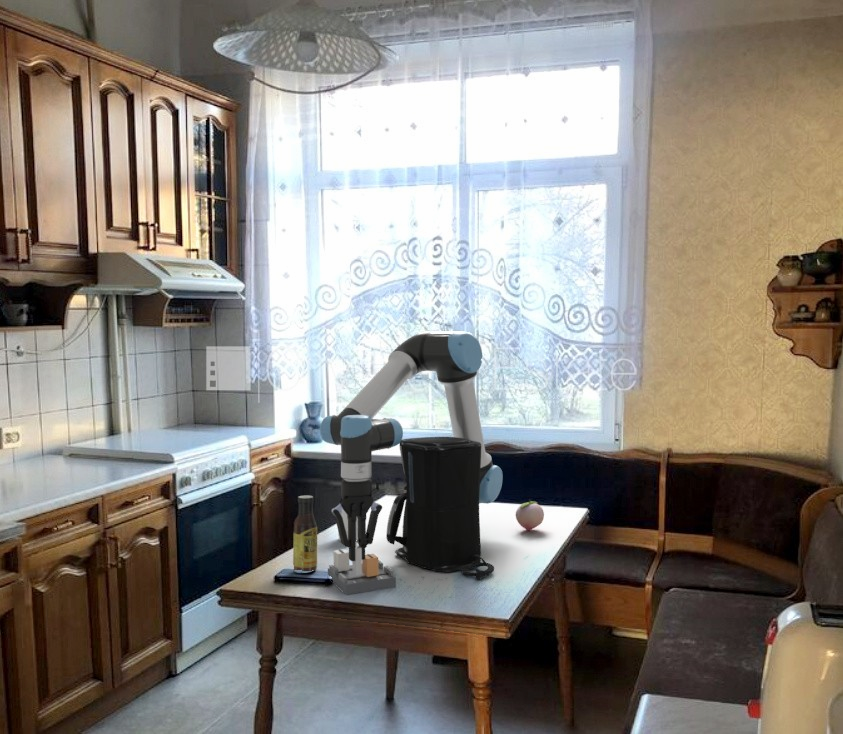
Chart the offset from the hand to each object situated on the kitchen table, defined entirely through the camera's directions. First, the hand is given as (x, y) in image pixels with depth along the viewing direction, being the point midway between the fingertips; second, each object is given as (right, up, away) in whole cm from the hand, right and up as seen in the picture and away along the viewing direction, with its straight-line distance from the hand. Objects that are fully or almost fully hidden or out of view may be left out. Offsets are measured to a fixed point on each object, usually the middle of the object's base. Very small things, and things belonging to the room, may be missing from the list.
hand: (357, 572), depth 197 cm
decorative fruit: (+50, -1, +52) cm, 72 cm away
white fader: (-4, 0, +6) cm, 7 cm away
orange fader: (+3, -1, +1) cm, 3 cm away
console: (+1, -4, +4) cm, 5 cm away
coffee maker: (+20, -3, +20) cm, 28 cm away
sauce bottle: (-15, -3, +14) cm, 20 cm away
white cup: (-6, -1, +44) cm, 44 cm away
